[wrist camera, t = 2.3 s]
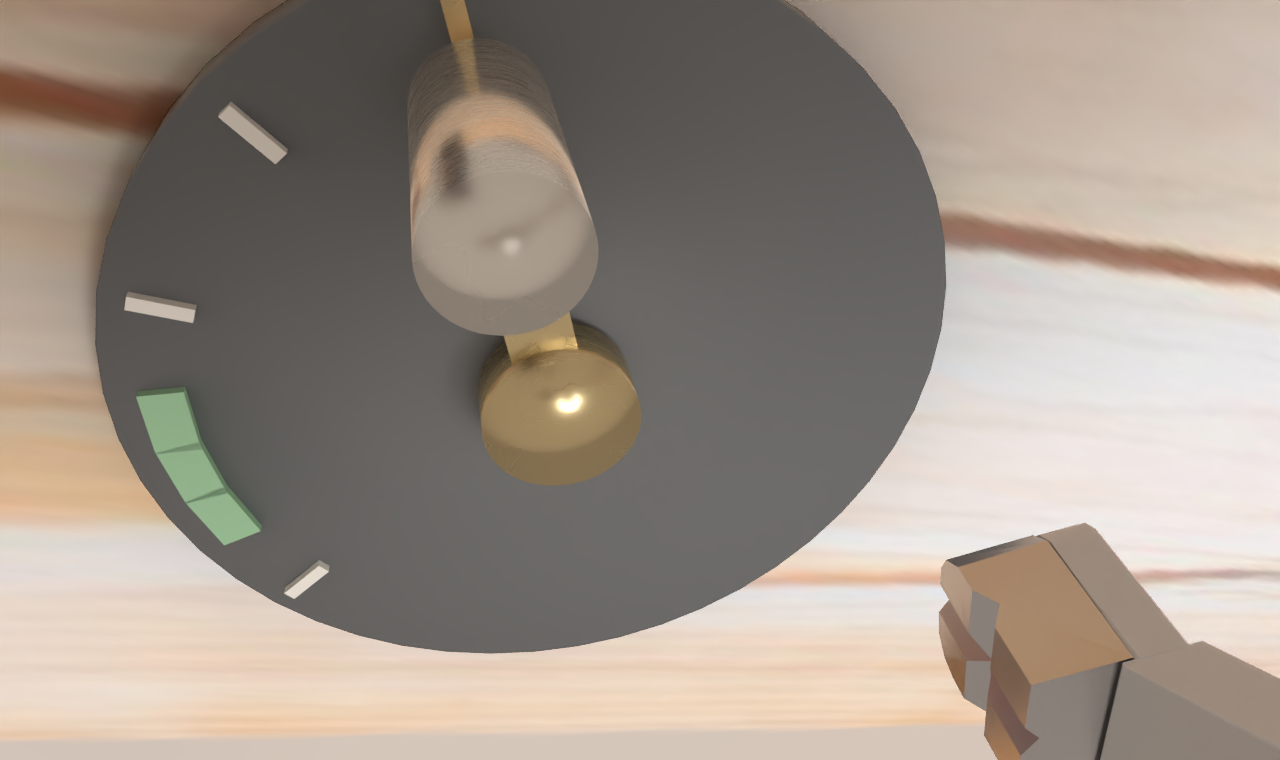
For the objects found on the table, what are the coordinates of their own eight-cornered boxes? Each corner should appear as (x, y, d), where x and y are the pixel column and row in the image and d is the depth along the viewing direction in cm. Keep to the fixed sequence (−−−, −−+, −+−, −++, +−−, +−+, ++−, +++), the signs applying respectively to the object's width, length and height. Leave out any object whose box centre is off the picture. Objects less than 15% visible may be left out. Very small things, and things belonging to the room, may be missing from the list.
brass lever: (639, 425, 31) (703, 631, 25) (497, 460, 31) (525, 678, 24) (546, -40, 22) (605, 92, 16) (349, 3, 22) (332, 154, 16)
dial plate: (1074, 94, 29) (1109, 118, 28) (737, 647, 41) (749, 683, 40) (165, -243, 21) (148, -234, 19) (74, 580, 33) (60, 623, 31)
